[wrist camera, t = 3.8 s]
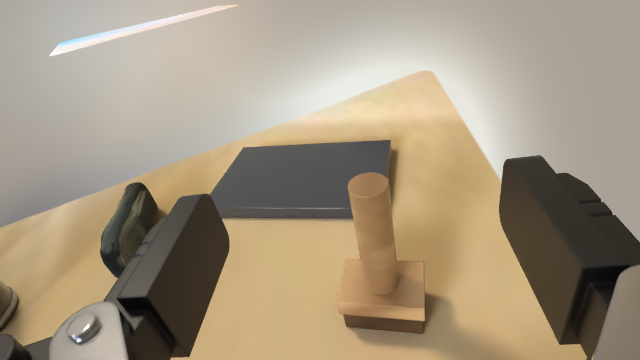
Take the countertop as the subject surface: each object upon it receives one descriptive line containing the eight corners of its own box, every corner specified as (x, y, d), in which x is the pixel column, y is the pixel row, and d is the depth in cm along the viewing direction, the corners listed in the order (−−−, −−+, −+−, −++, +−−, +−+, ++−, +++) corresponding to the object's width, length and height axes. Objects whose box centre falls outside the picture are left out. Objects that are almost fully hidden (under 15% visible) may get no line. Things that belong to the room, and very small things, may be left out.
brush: (343, 329, 30) (311, 206, 22) (351, 284, 33) (325, 165, 26) (425, 336, 28) (420, 206, 20) (425, 289, 31) (420, 162, 24)
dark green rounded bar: (121, 182, 47) (85, 265, 34) (145, 176, 47) (118, 255, 34) (139, 212, 49) (112, 299, 37) (162, 206, 50) (142, 289, 37)
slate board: (204, 217, 45) (200, 208, 45) (246, 155, 56) (243, 147, 55) (383, 218, 39) (382, 208, 38) (391, 149, 50) (390, 139, 49)
